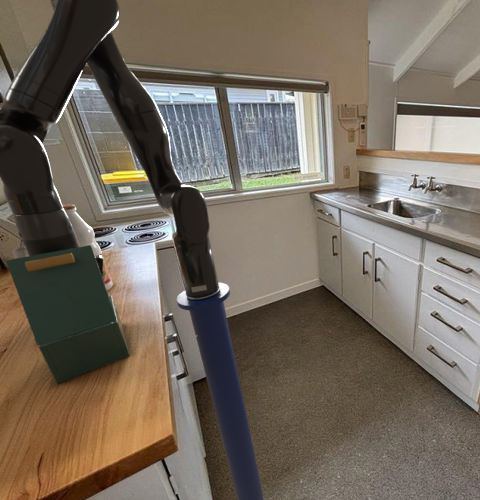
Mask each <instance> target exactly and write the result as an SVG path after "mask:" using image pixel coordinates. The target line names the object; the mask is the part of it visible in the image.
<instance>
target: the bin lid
mask: <svg viewBox="0 0 480 500" xmlns="http://www.w3.org/2000/svg"><path fill="white" fill-rule="evenodd" d="M5 262H6V266H7V269H8V271H9V274H10V276H11V279H12V281H13V284H14V286H15V289H16V292H17V294H18V297H19V300H20V303H21V305H22V308H23V311H24V314H25V317H26V319H27V321H28V325H29V328H30V330H31V333H32V335H33V337H34V341H35V343H36V346H37V347H38V346H40V345H42V344H45V343H48V342H52V341H55V340H58V339H61V338H64V337H67V336H70V335H73V334H76V333H79V332H83V331H86V330H89V329H92V328H95V327H98V326H101V325H104V324H107V323H110V322H114V321H116V320H117V319H116V316H115V313H114V310H113V308H112V305H111V302H110V299H109V293H108V290H106V287H105V284H104V281H103V278H102V276H101V273H100V270H99V267H98V264H97V261H96V258H95V255H94V252H93V249H92V246H91V245H88V246H83V247H77V248H72V249H66V250H61V251H55V252H50V253H44V254H39V255H33V256H28V257H22V258H11V259H7V260H5Z"/></svg>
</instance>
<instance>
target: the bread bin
mask: <svg viewBox="0 0 480 500" xmlns="http://www.w3.org/2000/svg"><path fill="white" fill-rule="evenodd" d="M108 296H109V295H108ZM109 299H110V302H111V305H112V308H113V310H114V313H115V316H116V319H117V320H116V321H114V322H110V323H107V324H104V325H101V326H98V327H95V328H92V329H89V330H86V331H83V332H79V333H76V334H73V335H70V336H67V337H64V338H61V339H58V340H55V341H52V342H48V343H45V344H42V345H39V347H38V348H39V350H40V353H41V355H42V357H43V359H44V361H45V362H46V365H47V366H48V369H49V370H50V372H51V374H52V377H53V378H54V380H55V382H56V385H57V384H61V383H63V382H66V381H68V380H71V379H73V378H76V377H78V376H82V375H84V374H86V373H89V372H91V371H93V370H96V369H99V368H102V367H104V366H107V365H109V364H111V363H114V362H117V361H120V360H121V359H124V358H127V357H129V356H130V352H129V348H128V343H127V340H126V335H125V331H124V327H123V324H122V321H121V318H120V315H119V312H118V310H117V307H116V304H115V302H114V298H113V296H112V295H110V296H109Z"/></svg>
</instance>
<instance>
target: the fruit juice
mask: <svg viewBox="0 0 480 500" xmlns="http://www.w3.org/2000/svg"><path fill="white" fill-rule="evenodd" d="M62 205H63V208H64V210H65V212H66V214H67V215H68V217H69V219H70V222H71V224H72V227H73V230H74V232H75V235H76V238H77V241H78V243H79V246H80V247H83V246H88V245H91V246H92V249H93V252H94V255H95V256H97V255H101V256H102V257H103V275H102V278H103V281H104V284H105V287H106V290H107V291H109V290H110V289H111V288H113V285H114V284H113V280H112V277H111V274H110V271H109V269H108V266H107V263H106V260H105V258H104V254H103V251H102V249H101V247H100V245H99V243H98V242H97V241H96V237H95V235H96V234H95V231H94V229H93V228H92V226H90V225H89V224H88V223H86V222H85V221H84V219H82V217H81V216H80V215H79V214H78V213H77V207H76V205H75V204H74V203H65V204H62Z"/></svg>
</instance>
